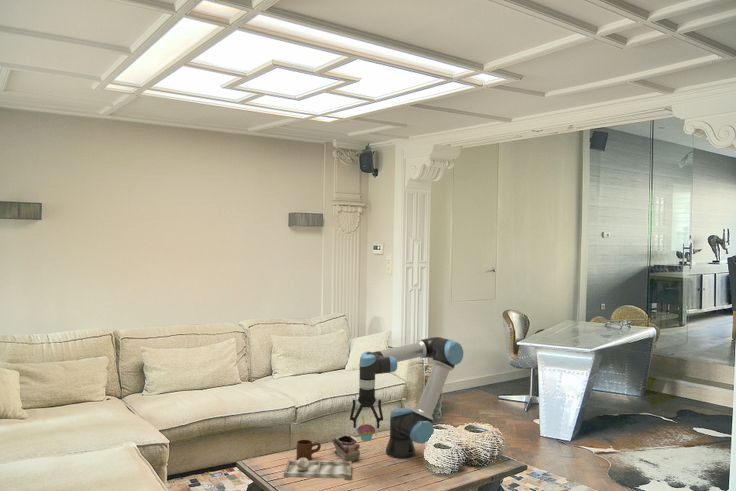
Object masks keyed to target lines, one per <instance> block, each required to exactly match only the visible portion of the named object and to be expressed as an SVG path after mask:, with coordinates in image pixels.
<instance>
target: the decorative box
mask: <svg viewBox="0 0 736 491" xmlns="http://www.w3.org/2000/svg"><path fill="white" fill-rule="evenodd" d="M357 440H358V439H357V438H356V437H355V436H353V435H349V434H343V435H342V434H341V435H337V436H333V437H331V442H332V444H333V445H334V448H335V453H336V454H337V456H339V457H340V458H341V459H342V460H343V462H351V463H353V462H355V461H359V460H360V455H361V451H360V450H359V449H360V448H361V447H360V443H358V442H357Z"/></svg>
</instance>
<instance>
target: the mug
mask: <svg viewBox="0 0 736 491" xmlns="http://www.w3.org/2000/svg"><path fill="white" fill-rule="evenodd" d="M321 445H322V444H321V443H320V442H318V441H314V442H313V441H312V440H310V439H300V440H297V441H296V460H297V461H298V460H299V459H300V458H303V457H304V458H306V459H308V461H312V459H313V458H312V457H313V454H314V453H317V452H319V451H320V450H321V448H322V446H321ZM316 446H317V447H316ZM313 447H316V448H313Z"/></svg>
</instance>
